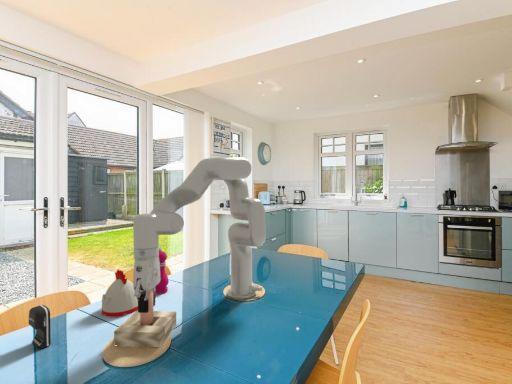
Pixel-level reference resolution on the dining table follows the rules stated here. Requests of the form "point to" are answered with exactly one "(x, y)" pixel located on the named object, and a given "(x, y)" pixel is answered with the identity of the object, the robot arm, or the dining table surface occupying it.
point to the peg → (148, 317)
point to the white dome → (119, 297)
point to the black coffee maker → (40, 325)
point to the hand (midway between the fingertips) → (146, 308)
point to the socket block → (145, 330)
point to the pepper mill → (162, 274)
